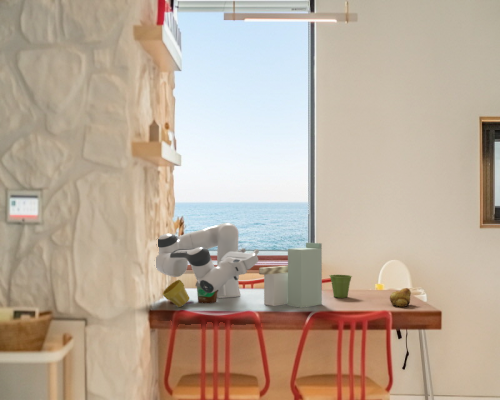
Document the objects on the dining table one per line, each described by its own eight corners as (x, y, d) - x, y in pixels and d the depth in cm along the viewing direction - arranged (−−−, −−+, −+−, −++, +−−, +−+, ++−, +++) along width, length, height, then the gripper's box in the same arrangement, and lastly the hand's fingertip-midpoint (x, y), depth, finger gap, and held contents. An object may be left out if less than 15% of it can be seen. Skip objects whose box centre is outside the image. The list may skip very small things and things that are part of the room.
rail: (263, 274, 243) (263, 268, 243) (259, 274, 245) (259, 267, 245) (293, 271, 256) (293, 265, 256) (289, 271, 258) (289, 265, 258)
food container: (191, 302, 253) (191, 282, 254) (196, 300, 259) (196, 281, 259) (213, 304, 249) (214, 283, 249) (219, 302, 255) (219, 282, 255)
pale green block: (301, 307, 240) (301, 244, 240) (288, 305, 246) (287, 243, 247) (321, 304, 249) (321, 243, 249) (308, 302, 255) (308, 242, 256)
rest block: (274, 306, 244) (273, 274, 244) (264, 304, 249) (264, 273, 250) (292, 303, 252) (291, 272, 252) (282, 301, 257) (282, 271, 258)
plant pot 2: (356, 298, 268) (356, 276, 268) (336, 299, 264) (336, 277, 264) (344, 294, 279) (344, 274, 279) (325, 296, 275) (325, 274, 275)
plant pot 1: (177, 302, 248) (164, 287, 246) (194, 291, 246) (181, 276, 244) (173, 313, 238) (160, 297, 236) (190, 302, 236) (177, 286, 234)
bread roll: (409, 308, 238) (409, 291, 238) (387, 307, 242) (387, 290, 242) (411, 304, 250) (411, 287, 250) (390, 302, 254) (390, 286, 254)
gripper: (219, 270, 241) (239, 254, 248) (247, 274, 225) (267, 256, 233) (214, 259, 239) (234, 243, 247) (241, 262, 223) (262, 245, 231)
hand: (250, 249), depth 239 cm, fingers open, 8 cm apart
